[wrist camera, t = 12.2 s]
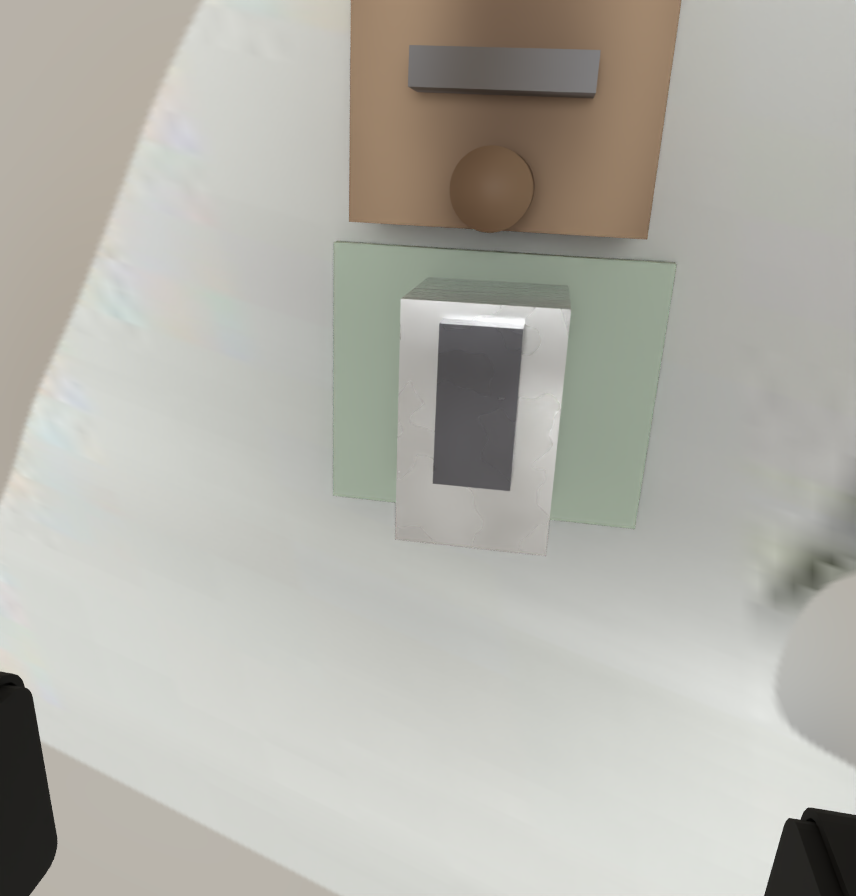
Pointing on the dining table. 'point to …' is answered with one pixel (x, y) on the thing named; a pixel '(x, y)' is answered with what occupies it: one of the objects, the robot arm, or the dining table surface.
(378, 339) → the mat
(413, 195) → the plane body
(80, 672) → the dining table surface
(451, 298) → the lever cap
